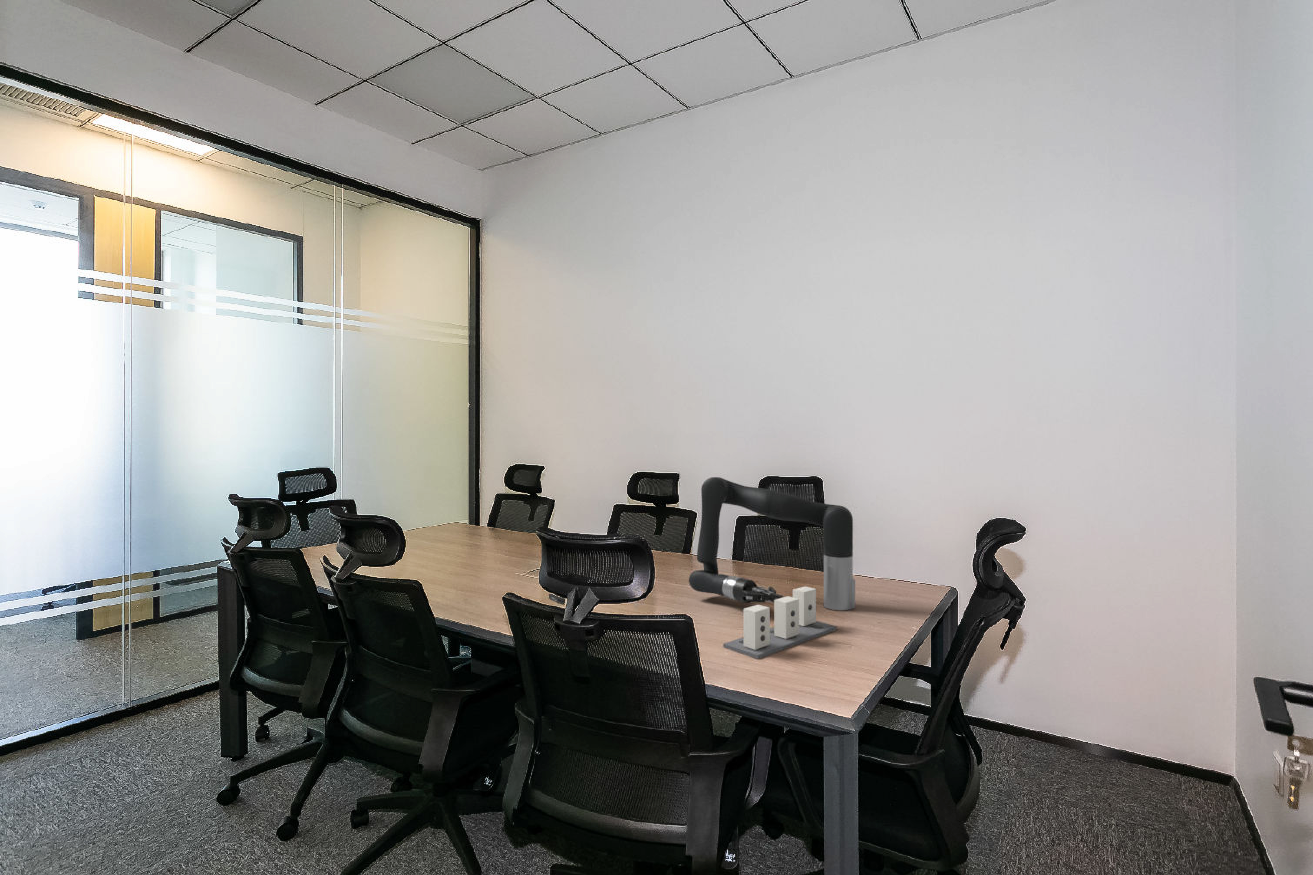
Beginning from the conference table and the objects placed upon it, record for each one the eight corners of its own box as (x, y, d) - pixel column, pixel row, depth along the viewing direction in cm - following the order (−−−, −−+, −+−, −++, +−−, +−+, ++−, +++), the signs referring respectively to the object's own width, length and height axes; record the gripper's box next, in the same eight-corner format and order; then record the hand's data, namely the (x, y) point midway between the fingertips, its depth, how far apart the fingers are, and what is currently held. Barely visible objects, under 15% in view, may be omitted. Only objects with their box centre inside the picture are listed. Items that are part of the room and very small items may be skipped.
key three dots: (743, 645, 175) (743, 608, 174) (758, 640, 179) (758, 604, 178) (755, 649, 171) (755, 612, 171) (770, 644, 175) (770, 607, 175)
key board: (723, 647, 177) (723, 643, 177) (803, 620, 201) (803, 616, 201) (757, 659, 168) (757, 654, 168) (837, 629, 192) (837, 625, 192)
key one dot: (792, 623, 194) (792, 589, 194) (804, 619, 198) (804, 586, 198) (804, 626, 191) (804, 592, 191) (816, 622, 195) (816, 588, 195)
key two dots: (774, 635, 183) (774, 599, 183) (787, 630, 187) (787, 596, 187) (786, 639, 180) (786, 603, 180) (799, 634, 184) (799, 599, 184)
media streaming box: (601, 600, 227) (601, 591, 227) (564, 607, 218) (564, 598, 218) (581, 591, 239) (581, 583, 239) (545, 597, 230) (544, 589, 230)
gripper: (725, 581, 210) (768, 591, 197) (752, 574, 218) (795, 583, 205) (725, 604, 210) (768, 615, 197) (752, 596, 218) (795, 607, 205)
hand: (781, 599), depth 201 cm, fingers closed
